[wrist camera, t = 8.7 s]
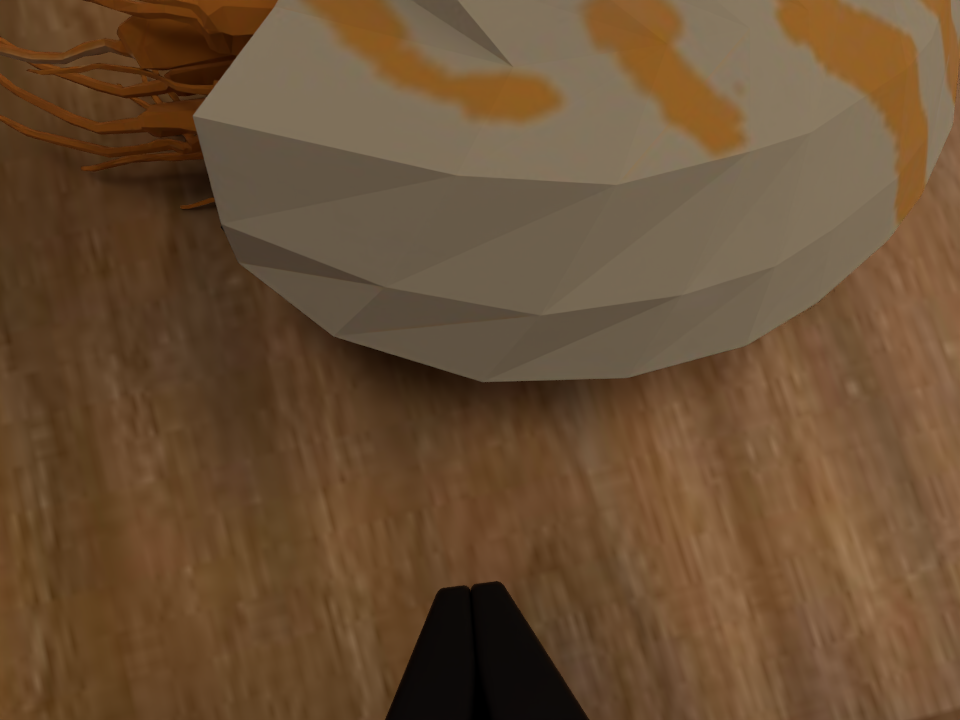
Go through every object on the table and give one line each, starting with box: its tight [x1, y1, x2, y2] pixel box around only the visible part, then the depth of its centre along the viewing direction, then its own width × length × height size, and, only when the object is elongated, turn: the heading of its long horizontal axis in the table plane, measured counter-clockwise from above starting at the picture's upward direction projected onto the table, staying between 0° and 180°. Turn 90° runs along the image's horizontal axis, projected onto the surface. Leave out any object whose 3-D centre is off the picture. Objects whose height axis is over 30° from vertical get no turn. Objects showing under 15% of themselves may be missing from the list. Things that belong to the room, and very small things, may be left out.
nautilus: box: [0, 0, 960, 382], centre depth 14 cm, size 8×22×15 cm
